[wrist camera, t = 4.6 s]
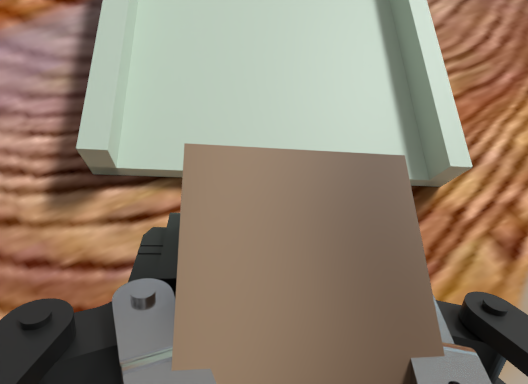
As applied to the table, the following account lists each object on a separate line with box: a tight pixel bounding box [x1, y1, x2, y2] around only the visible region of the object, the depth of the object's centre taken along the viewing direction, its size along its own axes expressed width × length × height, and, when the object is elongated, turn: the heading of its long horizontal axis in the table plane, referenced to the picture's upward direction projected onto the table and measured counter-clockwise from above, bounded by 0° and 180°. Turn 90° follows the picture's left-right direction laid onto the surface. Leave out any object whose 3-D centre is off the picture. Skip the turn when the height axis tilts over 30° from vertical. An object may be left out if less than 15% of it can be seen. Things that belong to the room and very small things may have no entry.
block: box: [171, 143, 445, 384], centre depth 11 cm, size 4×4×10 cm
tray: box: [76, 0, 472, 187], centre depth 20 cm, size 18×18×2 cm
